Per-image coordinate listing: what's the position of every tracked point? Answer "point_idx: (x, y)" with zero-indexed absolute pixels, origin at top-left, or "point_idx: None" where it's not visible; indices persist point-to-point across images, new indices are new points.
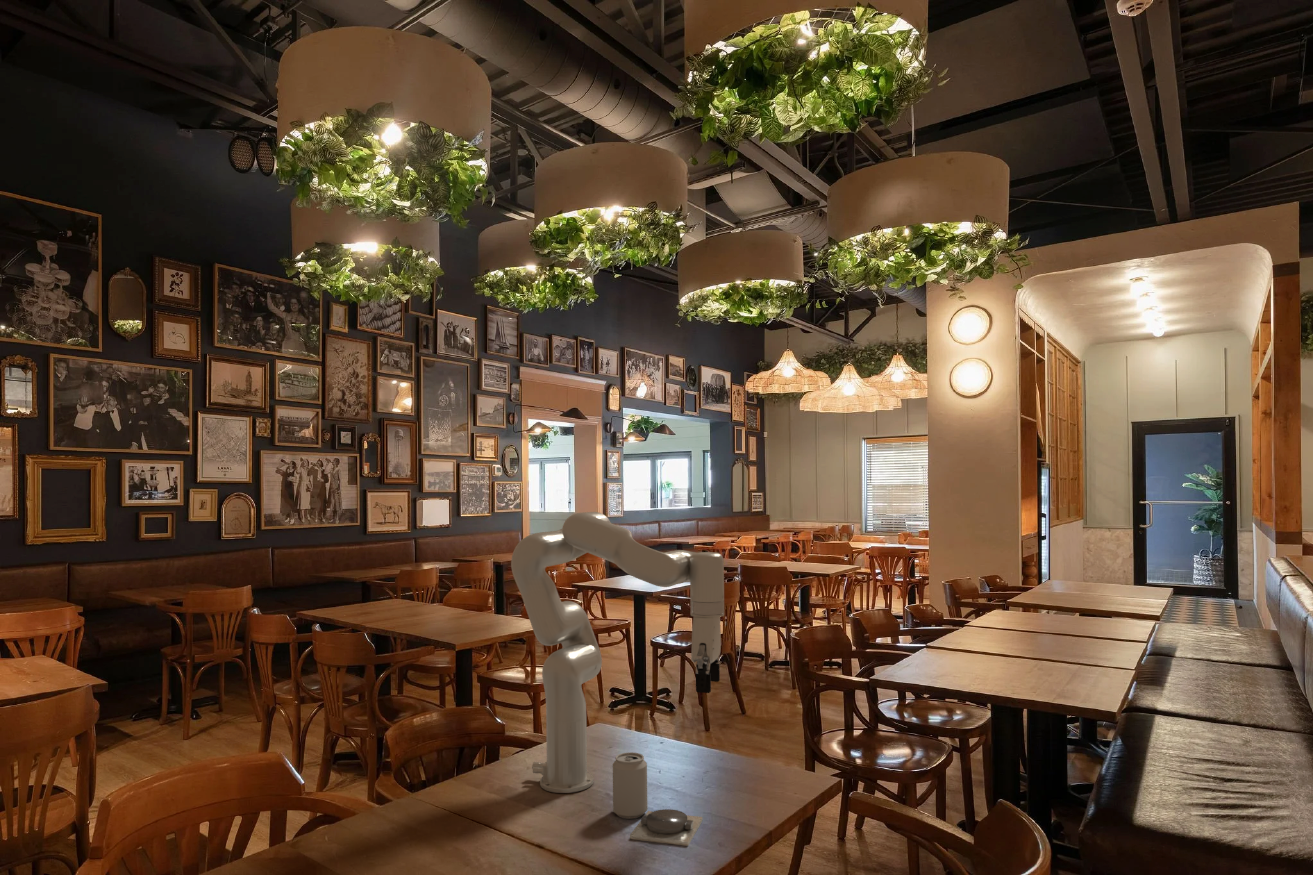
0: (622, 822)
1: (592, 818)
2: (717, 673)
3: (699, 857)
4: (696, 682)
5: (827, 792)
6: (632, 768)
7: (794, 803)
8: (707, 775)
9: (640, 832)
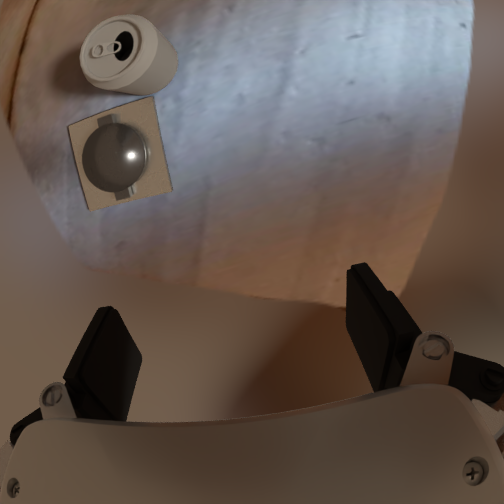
0: None
1: None
2: (358, 353)
3: (78, 236)
4: (85, 339)
5: None
6: (88, 78)
7: (298, 290)
8: (369, 124)
9: (80, 134)
